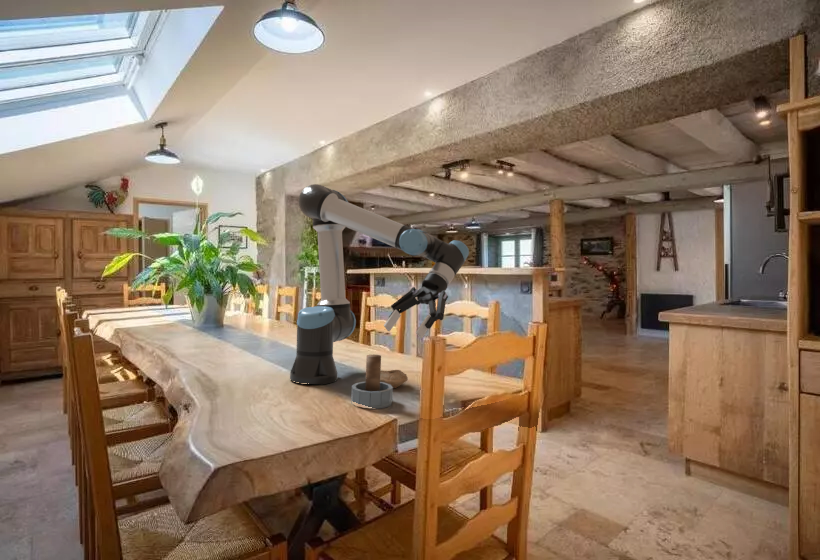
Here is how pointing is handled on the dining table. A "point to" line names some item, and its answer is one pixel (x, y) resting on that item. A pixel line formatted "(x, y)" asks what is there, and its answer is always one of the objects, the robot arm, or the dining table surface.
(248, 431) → the dining table surface
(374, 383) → the brown cylinder
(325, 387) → the dining table surface
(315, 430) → the dining table surface
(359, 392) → the grey plastic ring
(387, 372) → the pottery oil lamp
